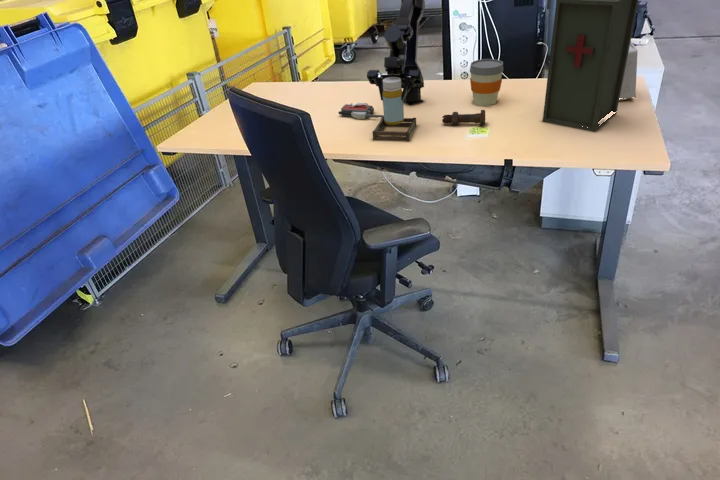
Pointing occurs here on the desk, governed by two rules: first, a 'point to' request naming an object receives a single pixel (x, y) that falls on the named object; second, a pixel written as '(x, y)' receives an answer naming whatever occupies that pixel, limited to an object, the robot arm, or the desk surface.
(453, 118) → the bolt
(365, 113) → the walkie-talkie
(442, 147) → the desk surface
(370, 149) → the desk surface
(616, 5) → the first aid box
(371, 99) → the desk surface
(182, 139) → the desk surface
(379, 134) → the crate
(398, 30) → the robot arm
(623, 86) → the electrical switch box
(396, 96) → the bottle
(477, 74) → the reusable coffee cup
